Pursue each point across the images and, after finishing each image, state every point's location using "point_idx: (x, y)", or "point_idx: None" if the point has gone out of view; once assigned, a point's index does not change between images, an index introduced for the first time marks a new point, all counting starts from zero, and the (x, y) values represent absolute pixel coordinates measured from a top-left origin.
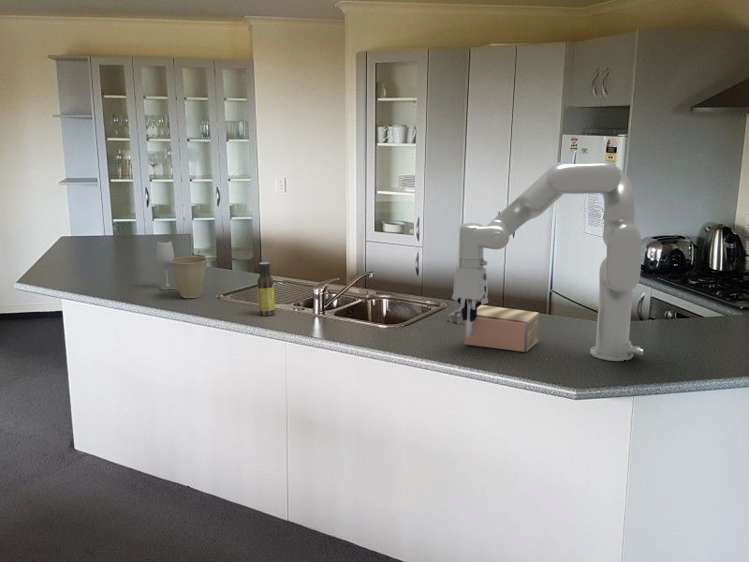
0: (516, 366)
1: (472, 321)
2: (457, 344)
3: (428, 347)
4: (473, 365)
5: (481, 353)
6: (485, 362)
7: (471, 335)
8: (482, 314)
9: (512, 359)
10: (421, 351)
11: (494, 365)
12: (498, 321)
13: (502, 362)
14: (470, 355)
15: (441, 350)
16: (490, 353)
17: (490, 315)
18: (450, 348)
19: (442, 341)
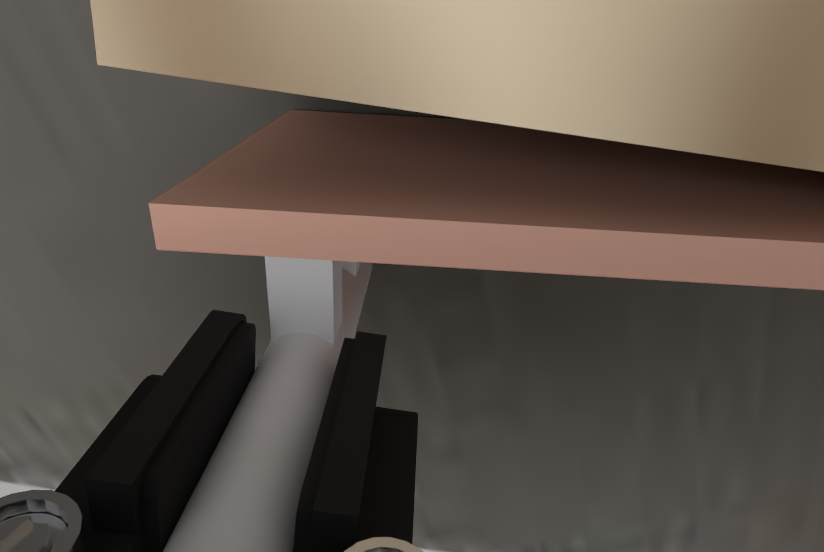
0: (788, 472)
1: (335, 294)
2: (221, 129)
3: (43, 296)
4: (493, 523)
5: (501, 299)
6: (562, 461)
7: (371, 268)
8: (459, 32)
9: (770, 355)
10: (56, 393)
11: (630, 492)
12: (818, 281)
13: (686, 431)
14: (426, 367)
15: (173, 330)
16: (577, 276)
17: (668, 52)
18: (214, 262)
19: (45, 86)
